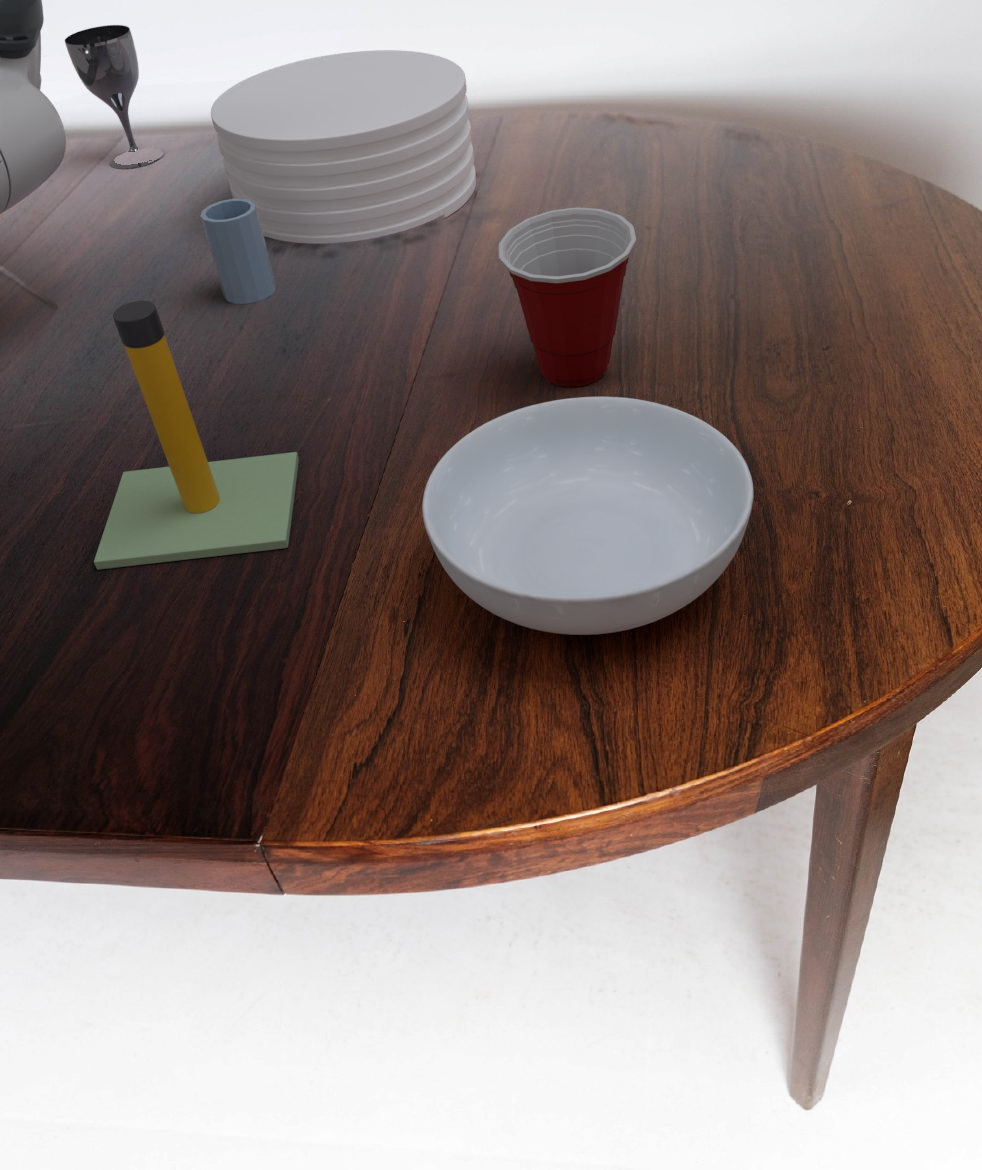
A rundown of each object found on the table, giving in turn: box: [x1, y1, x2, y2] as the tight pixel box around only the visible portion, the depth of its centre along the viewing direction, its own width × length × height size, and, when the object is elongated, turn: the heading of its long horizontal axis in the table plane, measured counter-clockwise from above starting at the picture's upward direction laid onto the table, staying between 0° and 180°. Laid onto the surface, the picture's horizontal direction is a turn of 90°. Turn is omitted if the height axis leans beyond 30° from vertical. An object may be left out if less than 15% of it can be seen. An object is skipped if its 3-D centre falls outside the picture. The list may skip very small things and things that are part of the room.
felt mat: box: [93, 451, 300, 571], centre depth 80 cm, size 14×11×1 cm
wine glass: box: [64, 24, 157, 170], centre depth 134 cm, size 8×8×15 cm
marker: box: [112, 300, 220, 513], centre depth 74 cm, size 3×3×16 cm
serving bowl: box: [421, 396, 754, 636], centre depth 69 cm, size 21×21×7 cm
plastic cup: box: [498, 207, 637, 388], centre depth 86 cm, size 11×11×12 cm
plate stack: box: [210, 49, 477, 245], centre depth 119 cm, size 28×28×12 cm
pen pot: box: [199, 198, 277, 305], centre depth 103 cm, size 5×5×9 cm
